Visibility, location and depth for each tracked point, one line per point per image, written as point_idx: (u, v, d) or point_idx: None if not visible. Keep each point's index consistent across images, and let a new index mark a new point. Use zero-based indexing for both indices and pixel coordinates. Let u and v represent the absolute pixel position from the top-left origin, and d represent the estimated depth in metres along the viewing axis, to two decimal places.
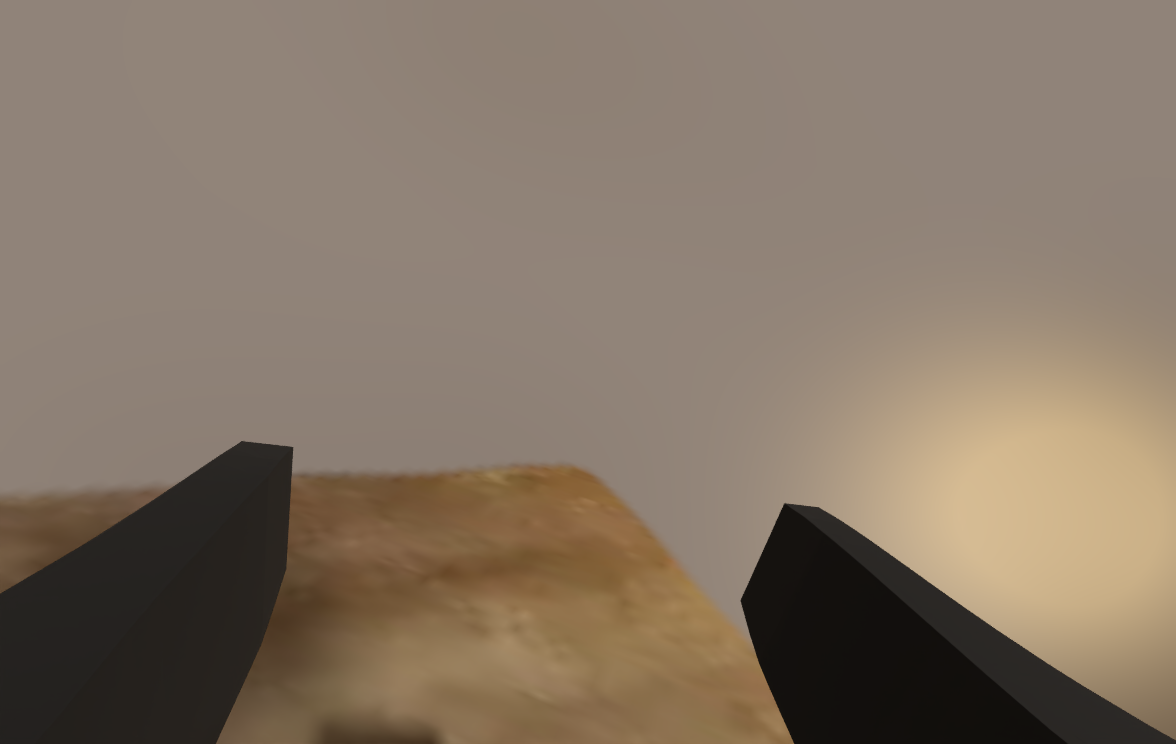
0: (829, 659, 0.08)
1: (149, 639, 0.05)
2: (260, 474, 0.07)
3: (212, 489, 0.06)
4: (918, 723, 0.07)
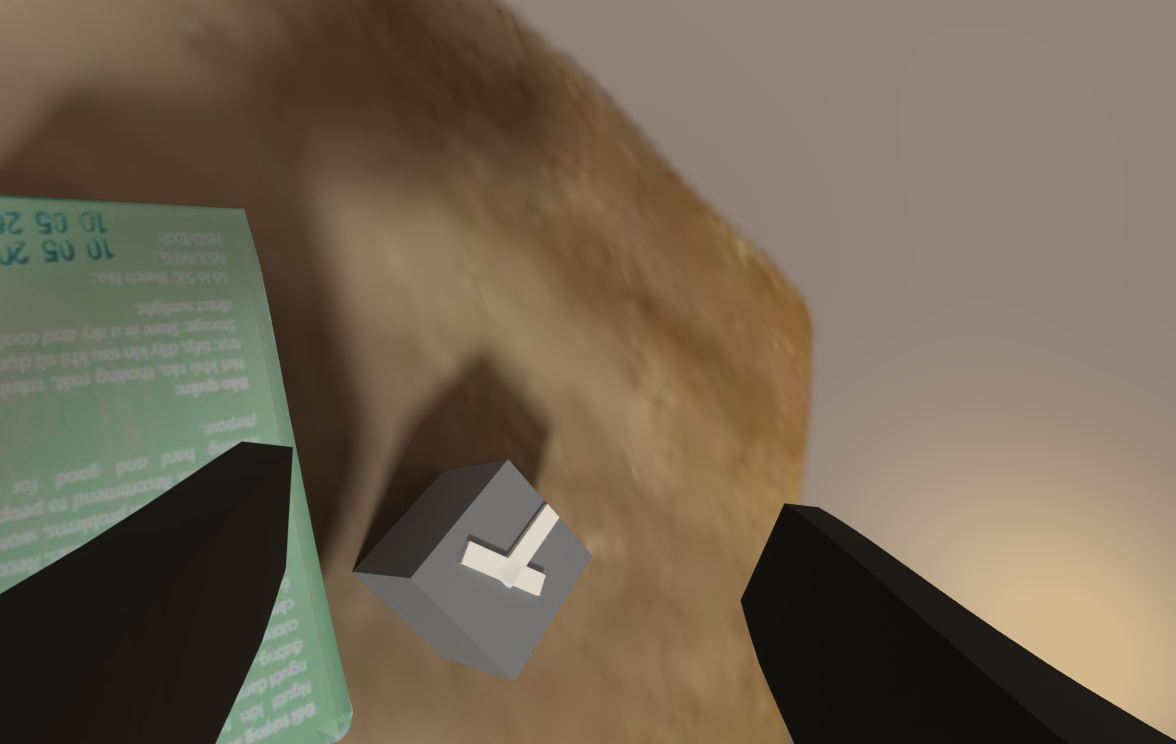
0: (829, 659, 0.08)
1: (149, 639, 0.05)
2: (260, 474, 0.07)
3: (212, 489, 0.06)
4: (918, 723, 0.07)
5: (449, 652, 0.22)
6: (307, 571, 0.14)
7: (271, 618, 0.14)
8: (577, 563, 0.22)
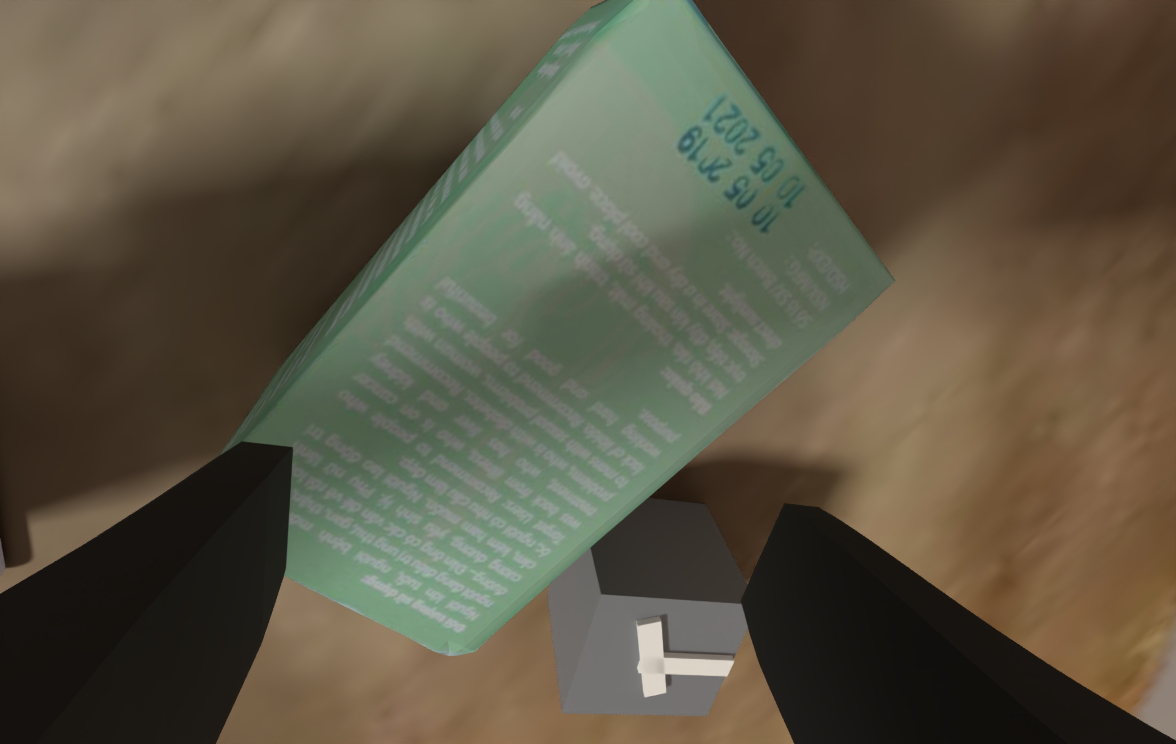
0: (829, 659, 0.08)
1: (149, 639, 0.05)
2: (260, 474, 0.07)
3: (212, 489, 0.06)
4: (918, 723, 0.07)
5: (555, 610, 0.22)
6: (565, 558, 0.14)
7: (512, 561, 0.13)
8: (692, 708, 0.20)
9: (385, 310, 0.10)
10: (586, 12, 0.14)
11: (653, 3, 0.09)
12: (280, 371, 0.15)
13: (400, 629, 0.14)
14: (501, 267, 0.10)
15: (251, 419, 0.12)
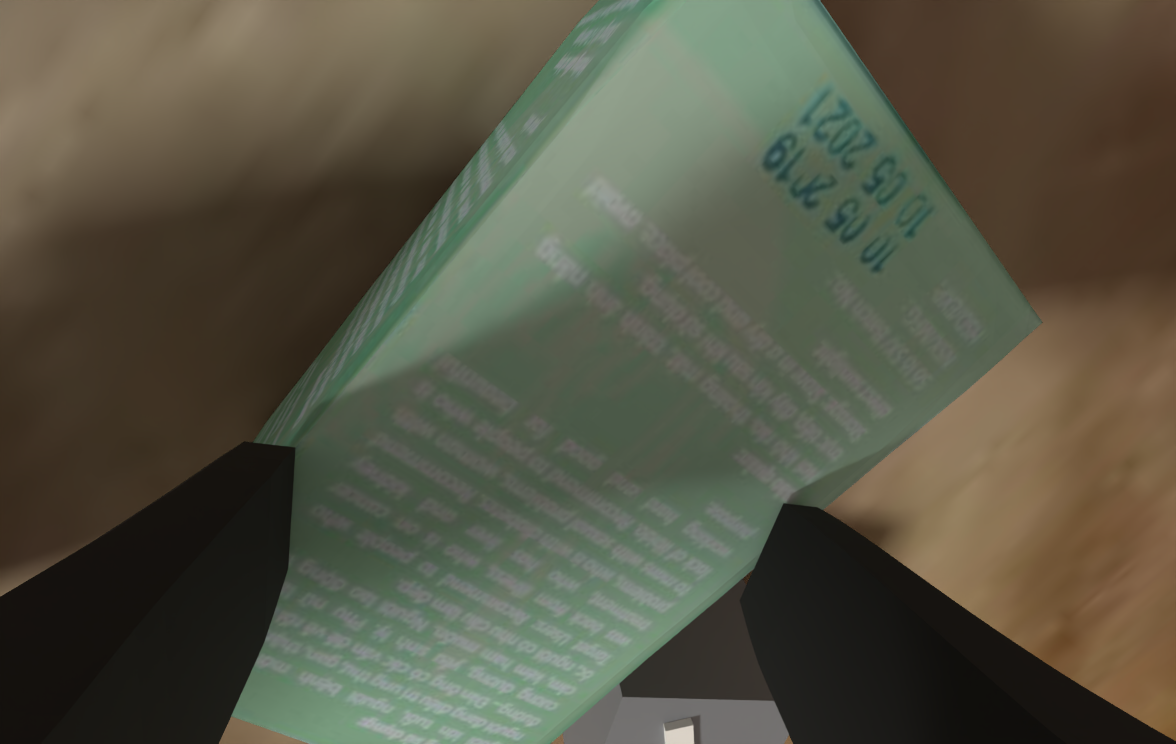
0: (829, 658, 0.08)
1: (153, 639, 0.05)
2: (263, 474, 0.07)
3: (215, 489, 0.06)
4: (917, 723, 0.07)
5: None
6: (612, 679, 0.11)
7: (546, 688, 0.10)
8: None
9: (366, 402, 0.08)
10: None
11: None
12: None
13: None
14: (523, 337, 0.08)
15: None
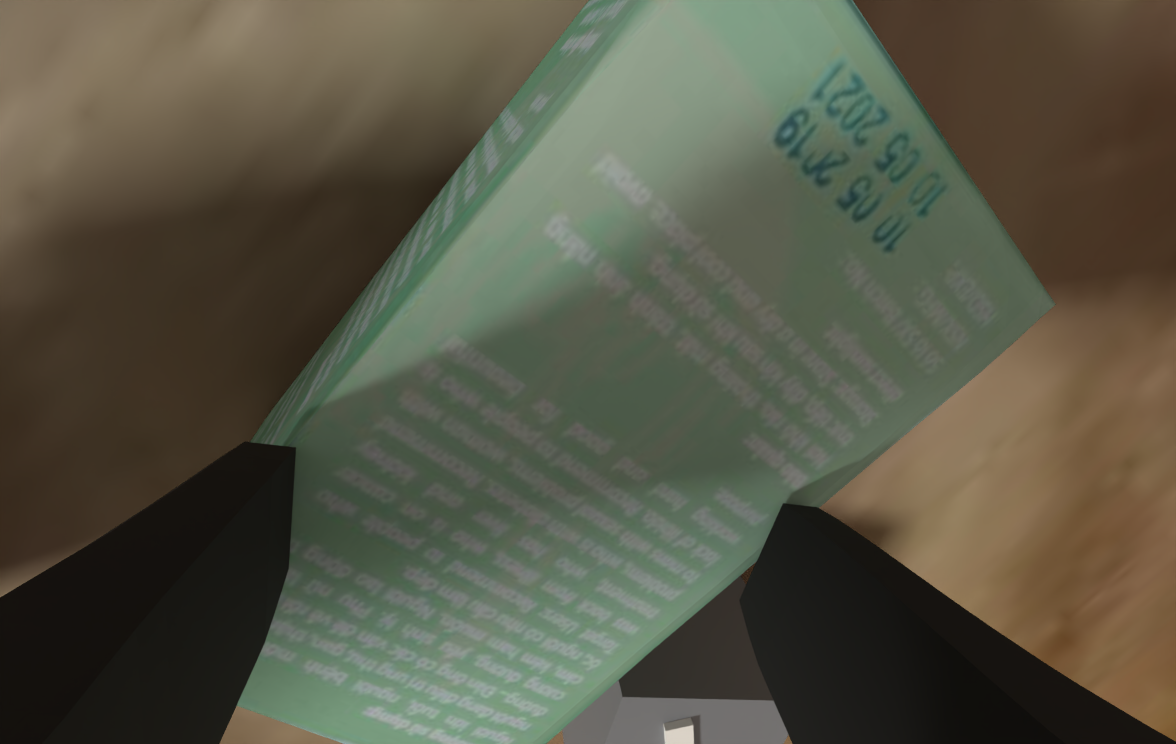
0: (828, 658, 0.08)
1: (154, 639, 0.05)
2: (264, 474, 0.07)
3: (216, 489, 0.06)
4: (916, 723, 0.07)
5: None
6: (620, 668, 0.11)
7: (553, 678, 0.10)
8: None
9: (373, 384, 0.08)
10: None
11: None
12: (255, 439, 0.12)
13: None
14: (530, 319, 0.07)
15: None
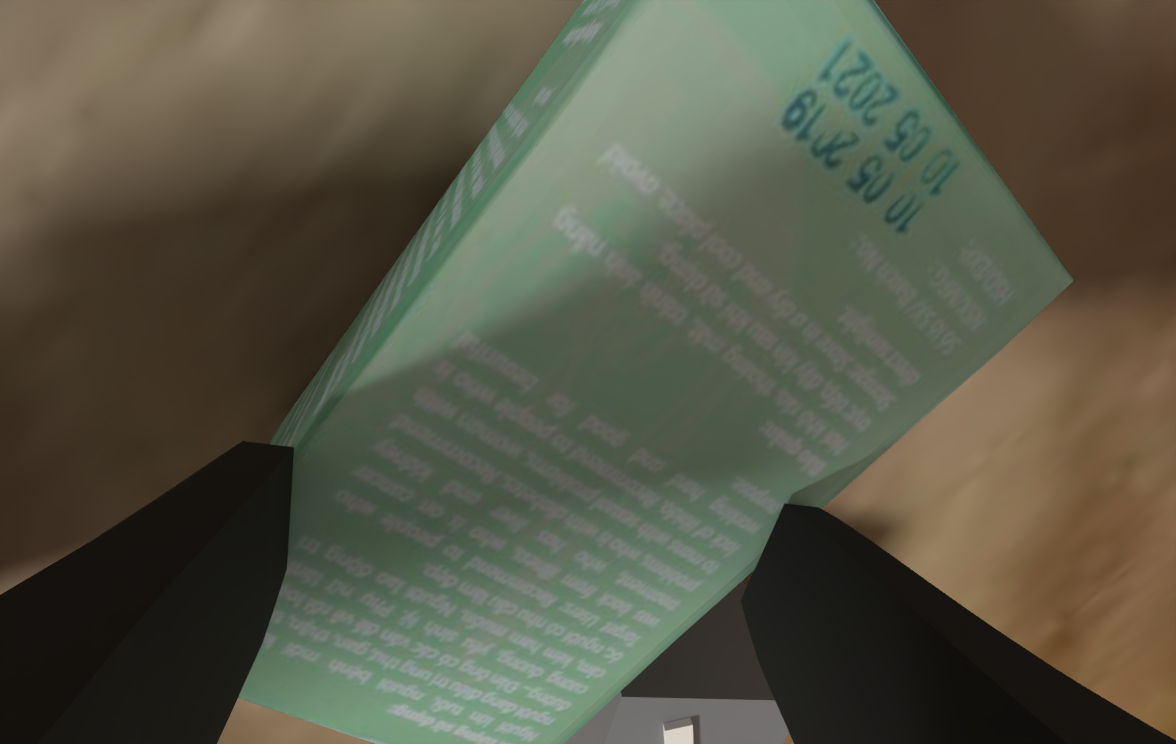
0: (830, 659, 0.08)
1: (151, 639, 0.05)
2: (261, 474, 0.07)
3: (213, 489, 0.06)
4: (918, 723, 0.07)
5: None
6: (641, 660, 0.11)
7: (575, 672, 0.10)
8: None
9: (387, 383, 0.08)
10: None
11: None
12: (272, 443, 0.12)
13: None
14: (541, 312, 0.07)
15: None
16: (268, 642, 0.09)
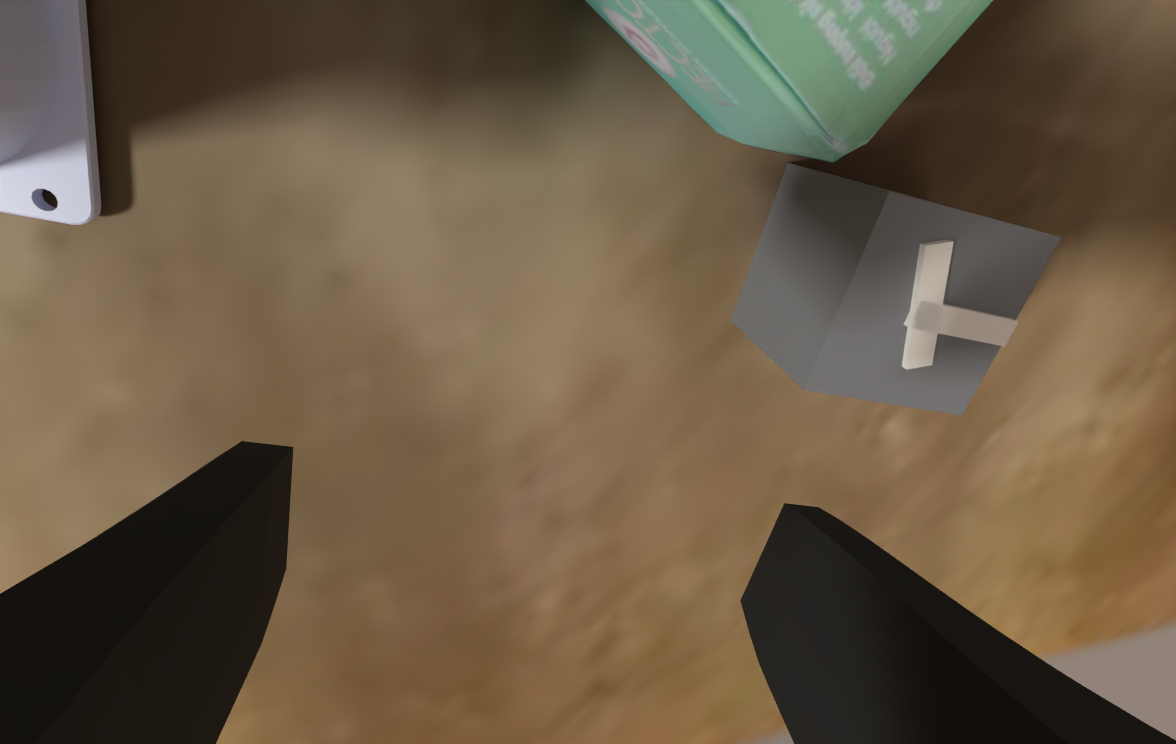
0: (830, 658, 0.08)
1: (149, 639, 0.05)
2: (260, 474, 0.07)
3: (212, 489, 0.06)
4: (918, 723, 0.07)
5: (756, 316, 0.18)
6: None
7: None
8: (948, 401, 0.16)
9: None
10: None
11: None
12: None
13: (794, 73, 0.10)
14: None
15: None
16: None
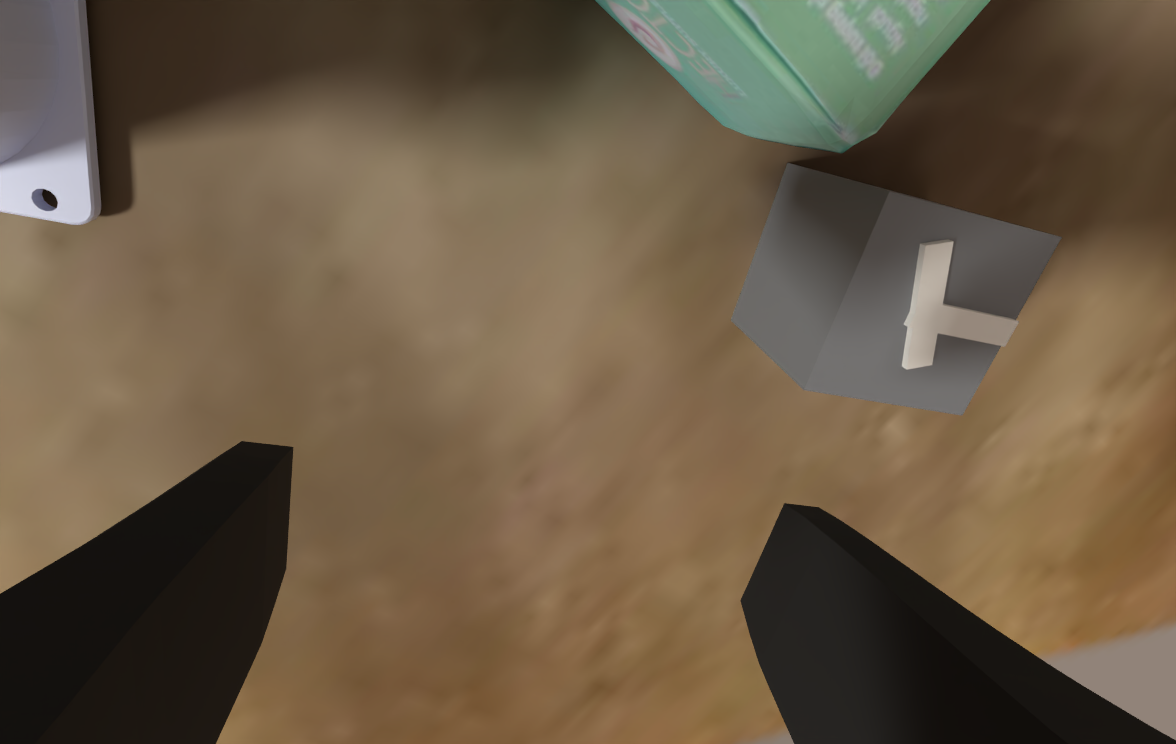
0: (830, 658, 0.08)
1: (149, 639, 0.05)
2: (260, 474, 0.07)
3: (212, 489, 0.06)
4: (918, 723, 0.07)
5: (756, 316, 0.18)
6: None
7: None
8: (948, 401, 0.16)
9: None
10: None
11: None
12: None
13: (803, 63, 0.10)
14: None
15: None
16: None
